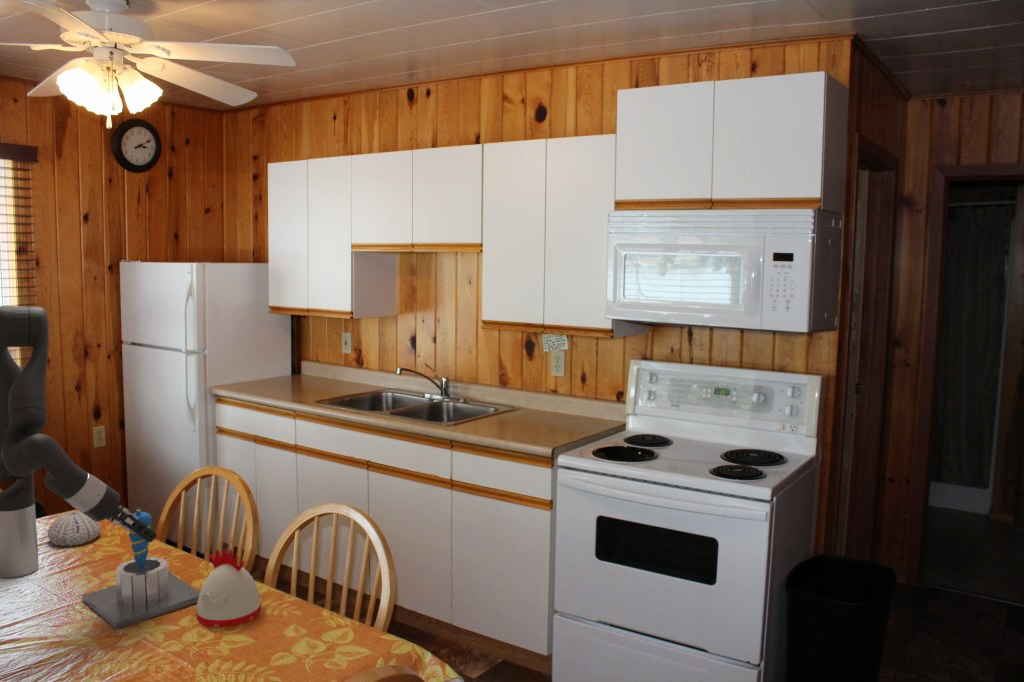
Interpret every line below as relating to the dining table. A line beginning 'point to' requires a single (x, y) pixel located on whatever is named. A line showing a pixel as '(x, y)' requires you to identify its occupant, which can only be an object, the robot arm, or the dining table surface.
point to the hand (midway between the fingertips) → (148, 535)
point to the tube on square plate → (141, 593)
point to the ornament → (140, 539)
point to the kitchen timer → (227, 594)
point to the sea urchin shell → (73, 529)
